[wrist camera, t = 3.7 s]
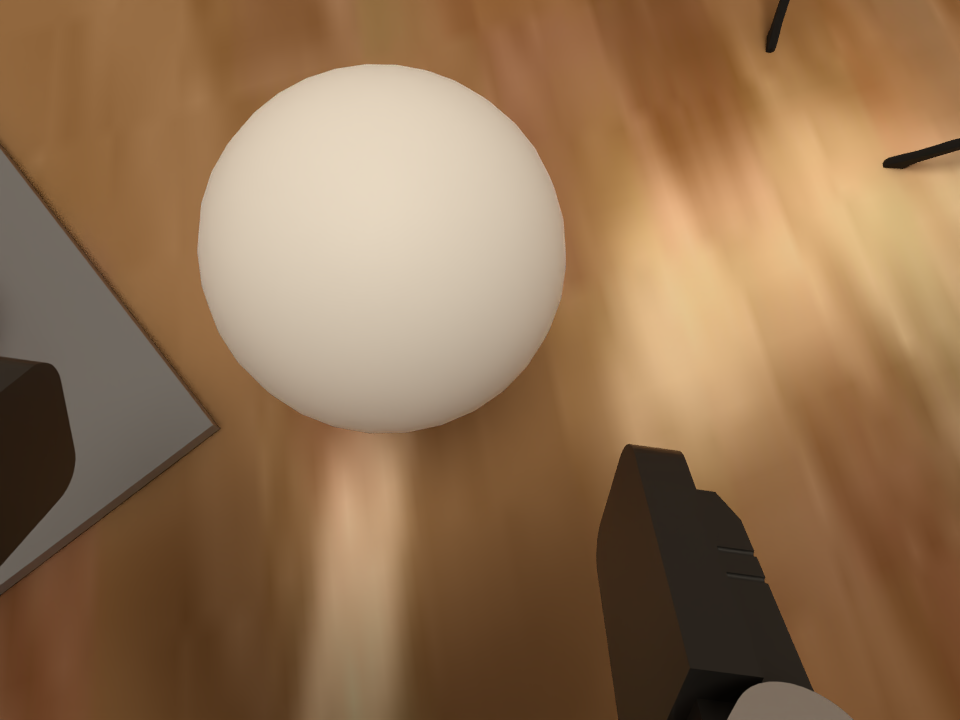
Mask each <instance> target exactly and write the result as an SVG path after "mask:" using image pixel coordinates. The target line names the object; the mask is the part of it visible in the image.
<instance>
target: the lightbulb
mask: <svg viewBox="0 0 960 720" xmlns="http://www.w3.org/2000/svg"><path fill="white" fill-rule="evenodd" d="M197 253H198V260H199V268H200V276H201V283H202V288H203V291H204V294H205V297H206V300H207V303H208V305H209V308H210V311H211V313H212V316H213V319H214V322H215V324H216V327H217V330H218V332H219V334H220V335H221V337H222V339H223V340H224V342H225V343H226V345H227V346H228V348H229V349H230V351H231V353H232V354H233V356H234V357H235V359H236V360H237V362H238V363H239V364H240V365H241V366H242V367H243V368H244V369H245V370H246V371H247V372H248V373H249V374H250V375H251V376H252V377H253V378H254V379H255V380H256V381H257V382H258V383H259V384H260V385H261V386H262V387H263V388H264V389H265V390H267V391H268V392H269V393H270V394H271V395H273V396H274V397H276V398H277V399H279V400H280V401H282V402H283V403H285V404H286V405H288V406H290V407H291V408H293V409H294V410H296V411H297V412H299V413H300V414H303V415H305V416H308V417H310V418H313V419H315V420H318V421H320V422H323V423H325V424H328V425H331V426H333V427H337V428H343V429H349V430H354V431H360V432H365V433H407V432H412V431H416V430H421V429H426V428H430V427H435V426H440V425H443V424H445V423H448V422H450V421H452V420H455V419H457V418H459V417H462V416H464V415H466V414H469V413H471V412H473V411H475V410H477V409H478V408H480V407H481V406H483V405H484V404H485V403H487V402H488V401H490V400H491V399H493V398H494V397H496V396H497V395H499V394H500V393H502V392H503V391H504V390H505V389H506V388H507V387H508V386H509V385H510V384H511V383H512V382H513V381H514V380H515V379H516V378H517V377H518V376H519V375H520V373H521V372H522V371H523V370H524V369H525V368H526V367H527V366H528V364H529V363H530V361H531V360H532V358H533V356H534V355H535V353H536V352H537V350H538V349H539V347H540V345H541V344H542V342H543V341H544V339H545V337H546V335H547V333H548V331H549V330H550V327H551V324H552V322H553V319H554V316H555V313H556V311H557V308H558V305H559V303H560V300H561V296H562V289H563V282H564V275H565V269H566V251H565V236H564V221H563V217H562V213H561V210H560V206H559V202H558V199H557V195H556V192H555V189H554V186H553V184H552V181H551V179H550V176H549V174H548V172H547V170H546V169H545V167H544V165H543V163H542V161H541V159H540V157H539V155H538V153H537V151H536V149H535V148H534V146H533V145H532V144H531V143H530V141H529V140H528V139H527V138H526V136H525V135H524V134H523V133H522V131H521V130H520V129H519V128H518V126H517V125H516V124H515V123H514V122H513V121H512V120H511V119H509V118H508V117H507V116H506V115H505V114H504V113H502V112H501V111H500V110H499V109H498V108H497V107H495V106H494V105H493V104H492V103H491V102H489V101H488V100H486V99H485V98H484V97H482V96H481V95H479V94H477V93H475V92H474V91H472V90H470V89H469V88H467V87H465V86H463V85H462V84H460V83H458V82H456V81H454V80H452V79H449V78H446V77H443V76H441V75H438V74H435V73H433V72H430V71H427V70H422V69H416V68H411V67H406V66H400V65H374V64H365V65H358V66H352V67H345V68H338V69H334V70H331V71H328V72H324V73H321V74H318V75H315V76H312V77H309V78H306V79H304V80H302V81H300V82H299V83H297V84H295V85H293V86H291V87H289V88H287V89H285V90H284V91H282V92H280V93H278V94H277V95H276V96H274V97H273V98H272V99H271V100H269V101H268V102H267V103H266V104H264V105H263V106H262V107H260V108H259V109H258V110H257V111H255V112H254V114H253V115H252V116H251V117H250V118H249V119H248V120H247V122H246V123H245V124H244V125H243V126H242V127H241V129H240V130H239V131H238V132H237V133H236V134H235V136H234V137H233V138H232V139H231V141H230V142H229V143H228V144H227V146H226V148H225V149H224V151H223V153H222V155H221V156H220V158H219V160H218V162H217V163H216V165H215V167H214V169H213V171H212V172H211V175H210V178H209V181H208V185H207V188H206V191H205V194H204V197H203V200H202V203H201V214H200V225H199V236H198V251H197Z"/></svg>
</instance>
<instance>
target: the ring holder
mask: <svg viewBox="0 0 960 720" xmlns="http://www.w3.org/2000/svg"><path fill="white" fill-rule="evenodd" d="M0 356H2V357H9V358H16V359H23V360H31V361H38V362H45V363H49V364H52V365H53V366H54V367H55V368H56V369H57V371H58V373H59V375H60V378H61V383H62V388H63V393H64V398H65V403H66V408H67V413H68V418H69V423H70V428H71V433H72V438H73V443H74V448H75V454H76V461H75V469H74V473H73V477H72V479H71V482H70V484H69V486H68V488H67V490H66V492H65V493H64V495H63V496H62V497H61V498H60V500H59V501H58V502H57V503H56V504H55V505H54V506H53V508H52V509H51V510H50V511H49V512H48V513H47V514H46V515H45V517H44V518H43V519H42V520H41V521H40V522H39V523H38V525H37V526H36V527H35V528H34V529H33V530H32V531H31V532H30V534H29V535H28V536H27V537H26V538H25V539H24V540H23V542H22V543H21V544H20V545H19V546H18V547H17V548H16V549H15V551H14V552H13V553H12V554H11V555H10V556H9V557H8V558H7V560H6V561H5V562H4V563H3V564H2V565H1V566H0V595H1V594H2V593H4V592H5V591H6V590H8V589H9V588H10V587H11V586H13V585H14V584H15V583H17V582H18V581H19V580H21V579H22V578H23V577H25V576H26V575H27V574H29V573H30V572H31V571H33V570H34V569H35V568H37V567H38V566H39V565H41V564H42V563H43V562H44V561H46V560H47V559H48V558H50V557H51V556H52V555H54V554H55V553H56V552H58V551H59V550H60V549H62V548H63V547H64V546H66V545H67V544H68V543H70V542H71V541H72V540H74V539H75V538H76V537H77V536H79V535H80V534H81V533H83V532H84V531H85V530H87V529H88V528H89V527H91V526H92V525H93V524H95V523H96V522H97V521H99V520H100V519H101V518H103V517H104V516H105V515H107V514H108V513H109V512H111V511H112V510H113V509H114V508H116V507H117V506H118V505H120V504H121V503H122V502H124V501H125V500H126V499H128V498H129V497H130V496H132V495H133V494H134V493H136V492H137V491H138V490H140V489H141V488H142V487H144V486H145V485H146V484H147V483H149V482H150V481H151V480H153V479H154V478H155V477H157V476H158V475H159V474H161V473H162V472H163V471H165V470H166V469H167V468H169V467H170V466H171V465H173V464H174V463H175V462H177V461H178V460H179V459H180V458H182V457H183V456H184V455H186V454H187V453H188V452H190V451H191V450H192V449H194V448H195V447H196V446H198V445H199V444H200V443H202V442H203V441H204V440H206V439H207V438H208V437H210V436H211V435H212V434H213V433H215V432H216V431H217V430H219V429H220V428H219V426H218V425H217V424H216V423H215V421H214V420H213V419H212V417H211V416H210V415H209V413H208V412H207V411H206V410H205V408H204V407H203V406H202V404H201V403H200V402H199V401H198V399H197V398H196V397H195V395H194V394H193V393H192V391H191V390H190V389H189V388H188V386H187V385H186V384H185V382H184V381H183V380H182V379H181V377H180V376H179V375H178V373H177V372H176V371H175V369H174V368H173V367H172V366H171V364H170V363H169V362H168V360H167V359H166V358H165V357H164V355H163V354H162V353H161V351H160V350H159V349H158V347H157V346H156V345H155V344H154V342H153V341H152V340H151V338H150V337H149V336H148V335H147V333H146V332H145V331H144V329H143V328H142V327H141V325H140V324H139V323H138V322H137V320H136V319H135V318H134V316H133V315H132V314H131V313H130V311H129V310H128V309H127V307H126V306H125V305H124V303H123V302H122V301H121V300H120V298H119V297H118V296H117V294H116V293H115V292H114V291H113V289H112V288H111V287H110V285H109V284H108V283H107V281H106V280H105V279H104V278H103V276H102V275H101V274H100V272H99V271H98V270H97V269H96V267H95V266H94V265H93V263H92V262H91V261H90V259H89V258H88V257H87V256H86V254H85V253H84V252H83V250H82V249H81V248H80V247H79V245H78V244H77V243H76V241H75V240H74V239H73V238H72V236H71V235H70V234H69V232H68V231H67V230H66V228H65V227H64V226H63V225H62V223H61V222H60V221H59V219H58V218H57V217H56V216H55V214H54V213H53V212H52V210H51V209H50V208H49V206H48V205H47V204H46V203H45V201H44V200H43V199H42V197H41V196H40V195H39V194H38V192H37V191H36V190H35V188H34V187H33V186H32V184H31V183H30V182H29V181H28V179H27V178H26V177H25V175H24V174H23V173H22V172H21V170H20V169H19V168H18V166H17V165H16V164H15V162H14V161H13V160H12V159H11V157H10V156H9V155H8V153H7V152H6V151H5V150H4V148H3V147H2V146H1V144H0Z"/></svg>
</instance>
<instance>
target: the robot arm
mask: <svg viewBox="0 0 960 720" xmlns="http://www.w3.org/2000/svg"><path fill="white" fill-rule="evenodd" d="M75 461H76V454H75V448H74V443H73V438H72V433H71V428H70V423H69V418H68V413H67V408H66V403H65V398H64V393H63V388H62V383H61V378H60V375H59V373H58V371H57V369H56V368H55V367H54V366H53V365H52V364H49V363H45V362H38V361H31V360H23V359H16V358H9V357H2V356H0V566H1V565H2V564H3V563H4V562H5V561H6V560H7V558H8V557H9V556H10V555H11V554H12V553H13V552H14V551H15V549H16V548H17V547H18V546H19V545H20V544H21V543H22V542H23V540H24V539H25V538H26V537H27V536H28V535H29V534H30V532H31V531H32V530H33V529H34V528H35V527H36V526H37V525H38V523H39V522H40V521H41V520H42V519H43V518H44V517H45V515H46V514H47V513H48V512H49V511H50V510H51V509H52V508H53V506H54V505H55V504H56V503H57V502H58V501H59V500H60V498H61V497H62V496H63V495H64V493H65V492H66V490H67V488H68V486H69V484H70V482H71V479H72V477H73V473H74V469H75ZM753 553H754V550H753V547H752V545H751V543H750V540H749V538H748V536H747V533H746V531H745V529H744V526H743V524H742V522H741V520H740V519H739V517H738V516H737V515H736V514H735V513H734V512H733V511H732V510H731V509H730V508H729V507H728V506H727V504H726V503H725V502H724V501H723V500H722V499H721V498H720V497H719V496H718V495H717V494H716V492H711V491H704V490H697V489H696V487H695V485H694V482H693V479H692V476H691V474H690V471H689V468H688V465H687V463H686V460H685V457H684V455H683V454H682V452H680V451H675V450H668V449H661V448H653V447H646V446H639V445H631V444H628V445H626V446H625V447H624V449H623V451H622V453H621V456H620V459H619V463H618V466H617V469H616V473H615V476H614V480H613V483H612V486H611V490H610V493H609V496H608V500H607V503H606V506H605V510H604V513H603V516H602V520H601V523H600V527H599V532H598V539H597V552H596V562H597V573H598V580H599V587H600V594H601V601H602V608H603V615H604V622H605V629H606V636H607V643H608V650H609V657H610V664H611V671H612V678H613V685H614V692H615V699H616V706H617V713H618V720H853V719H852V718H851V717H850V716H849V715H848V714H847V713H845V712H844V711H843V710H842V709H841V708H839V707H838V706H837V705H835V704H834V703H832V702H831V701H830V700H828V699H826V698H825V697H823V696H821V695H819V694H818V693H816V692H814V690H813V688H812V686H811V684H810V682H809V679H808V677H807V675H806V672H805V670H804V668H803V665H802V663H801V660H800V658H799V656H798V653H797V651H796V649H795V646H794V644H793V642H792V639H791V637H790V635H789V632H788V630H787V627H786V625H785V623H784V620H783V618H782V616H781V613H780V611H779V609H778V606H777V604H776V602H775V599H774V597H773V595H772V592H771V590H770V587H769V585H768V584H766V583H765V582H764V579H765V576H764V573H763V571H762V569H761V566H760V564H759V562H758V559H757V557H754V556H753Z"/></svg>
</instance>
